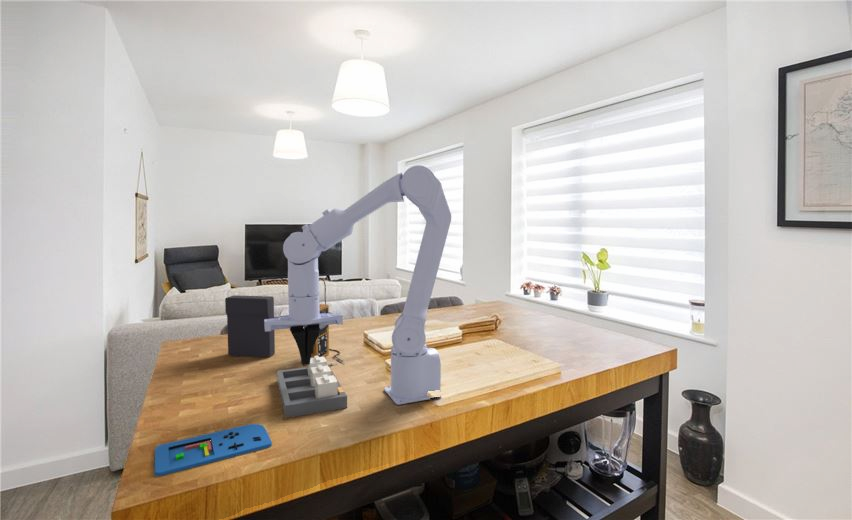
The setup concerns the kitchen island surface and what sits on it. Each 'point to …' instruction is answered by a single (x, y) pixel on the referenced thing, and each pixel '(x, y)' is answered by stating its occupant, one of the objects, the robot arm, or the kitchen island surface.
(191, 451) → the handheld gaming device
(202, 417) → the kitchen island surface
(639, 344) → the kitchen island surface
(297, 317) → the robot arm
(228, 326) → the dark gray lidded box
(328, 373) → the tab
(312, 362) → the tab
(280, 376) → the switch bank
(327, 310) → the multimeter
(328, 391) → the tab
